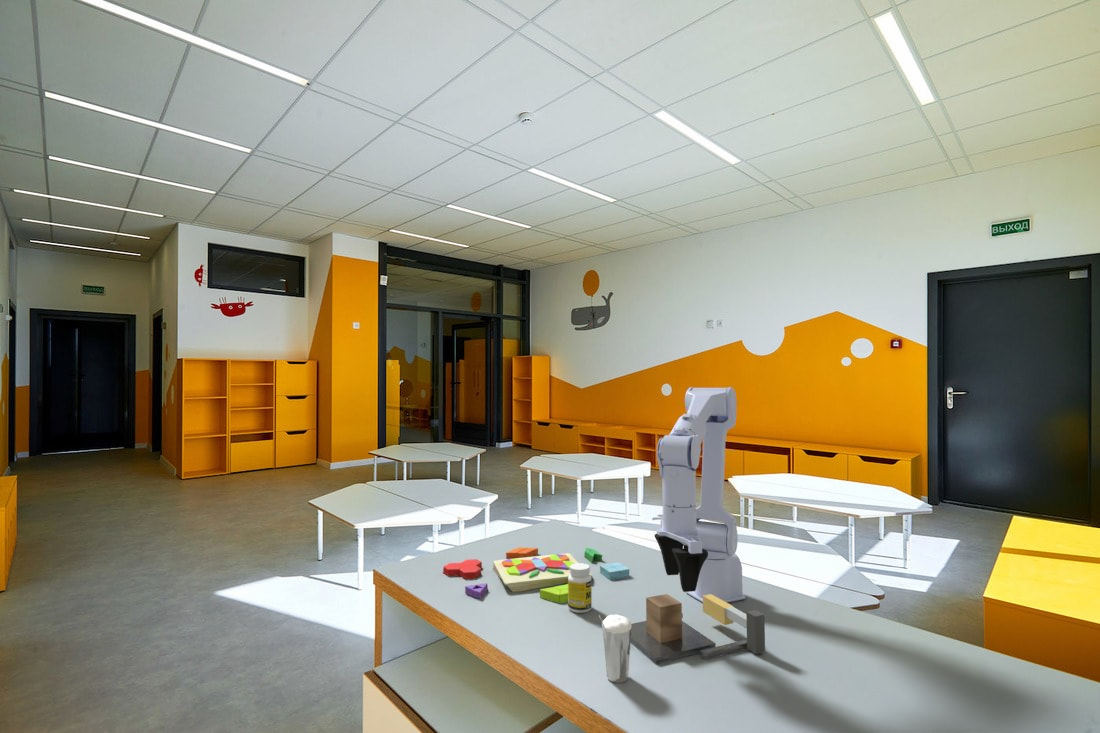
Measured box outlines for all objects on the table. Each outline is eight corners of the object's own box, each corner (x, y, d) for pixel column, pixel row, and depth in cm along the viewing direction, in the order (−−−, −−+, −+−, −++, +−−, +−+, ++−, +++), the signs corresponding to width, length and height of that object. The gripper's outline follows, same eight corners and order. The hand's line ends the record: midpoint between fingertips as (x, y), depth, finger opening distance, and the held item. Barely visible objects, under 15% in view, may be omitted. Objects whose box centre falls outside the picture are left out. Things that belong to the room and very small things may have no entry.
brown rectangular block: (673, 626, 98) (672, 592, 98) (687, 636, 94) (687, 602, 94) (646, 631, 96) (646, 597, 96) (660, 642, 91) (660, 607, 92)
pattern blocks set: (568, 545, 151) (568, 534, 151) (648, 583, 122) (648, 569, 123) (437, 571, 131) (437, 558, 132) (496, 623, 103) (496, 607, 103)
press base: (707, 613, 105) (707, 607, 105) (760, 645, 92) (760, 639, 92) (618, 632, 98) (618, 626, 98) (662, 670, 85) (662, 663, 85)
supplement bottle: (590, 614, 105) (589, 571, 105) (566, 612, 106) (565, 569, 106) (593, 604, 110) (592, 562, 110) (570, 602, 111) (569, 561, 111)
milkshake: (592, 674, 84) (592, 609, 84) (622, 667, 86) (621, 603, 86) (607, 690, 79) (606, 621, 80) (638, 681, 82) (637, 615, 82)
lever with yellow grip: (711, 618, 102) (711, 586, 102) (765, 651, 90) (764, 614, 90) (703, 620, 101) (702, 587, 101) (755, 653, 89) (755, 616, 89)
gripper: (644, 496, 101) (645, 569, 101) (672, 515, 87) (673, 600, 86) (680, 494, 102) (681, 567, 102) (713, 513, 87) (715, 597, 87)
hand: (680, 582), depth 94 cm, fingers open, 7 cm apart
